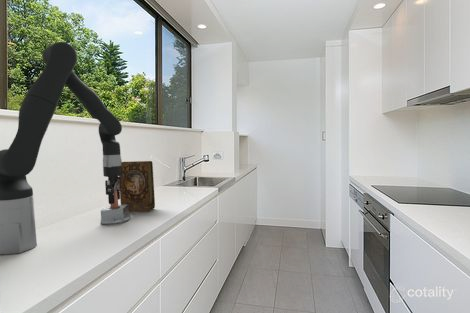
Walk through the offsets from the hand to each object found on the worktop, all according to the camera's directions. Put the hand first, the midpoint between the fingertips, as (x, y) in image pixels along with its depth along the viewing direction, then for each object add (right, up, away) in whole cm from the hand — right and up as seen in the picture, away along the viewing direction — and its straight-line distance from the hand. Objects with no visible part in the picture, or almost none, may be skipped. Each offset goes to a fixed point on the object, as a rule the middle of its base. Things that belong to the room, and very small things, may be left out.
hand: (114, 201), depth 115 cm
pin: (0, -6, 0) cm, 6 cm away
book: (+4, -8, +17) cm, 19 cm away
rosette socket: (0, -9, 0) cm, 9 cm away
